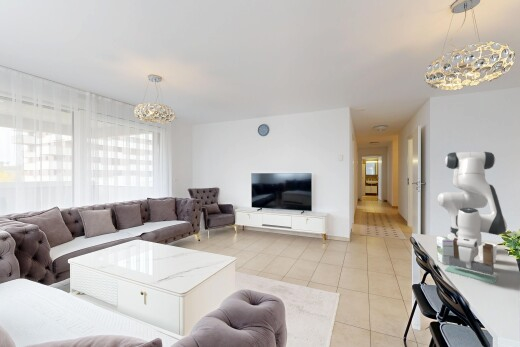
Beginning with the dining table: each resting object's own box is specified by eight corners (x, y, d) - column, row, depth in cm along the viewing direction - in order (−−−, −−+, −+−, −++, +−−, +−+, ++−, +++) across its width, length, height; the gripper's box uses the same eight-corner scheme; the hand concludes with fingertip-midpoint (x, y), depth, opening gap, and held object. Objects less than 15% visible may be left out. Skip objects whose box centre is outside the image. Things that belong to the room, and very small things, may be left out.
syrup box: (454, 265, 123) (454, 239, 123) (442, 264, 124) (442, 239, 124) (448, 261, 129) (447, 236, 129) (436, 260, 130) (436, 236, 130)
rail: (450, 263, 119) (450, 255, 119) (493, 273, 106) (493, 265, 106) (449, 264, 117) (449, 257, 117) (492, 275, 104) (492, 267, 104)
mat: (449, 266, 121) (449, 265, 121) (497, 278, 107) (497, 277, 107) (444, 270, 116) (444, 269, 116) (493, 284, 102) (493, 282, 102)
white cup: (493, 264, 122) (492, 247, 123) (474, 259, 130) (474, 243, 130) (499, 262, 126) (499, 245, 126) (481, 257, 133) (481, 241, 133)
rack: (455, 259, 131) (454, 237, 131) (493, 268, 118) (493, 244, 118) (451, 262, 127) (451, 240, 127) (491, 271, 114) (490, 247, 114)
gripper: (466, 235, 120) (466, 259, 120) (455, 242, 108) (456, 269, 108) (482, 237, 115) (482, 263, 115) (473, 245, 103) (474, 274, 103)
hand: (470, 266), depth 111 cm, fingers closed on rail, 3 cm apart
